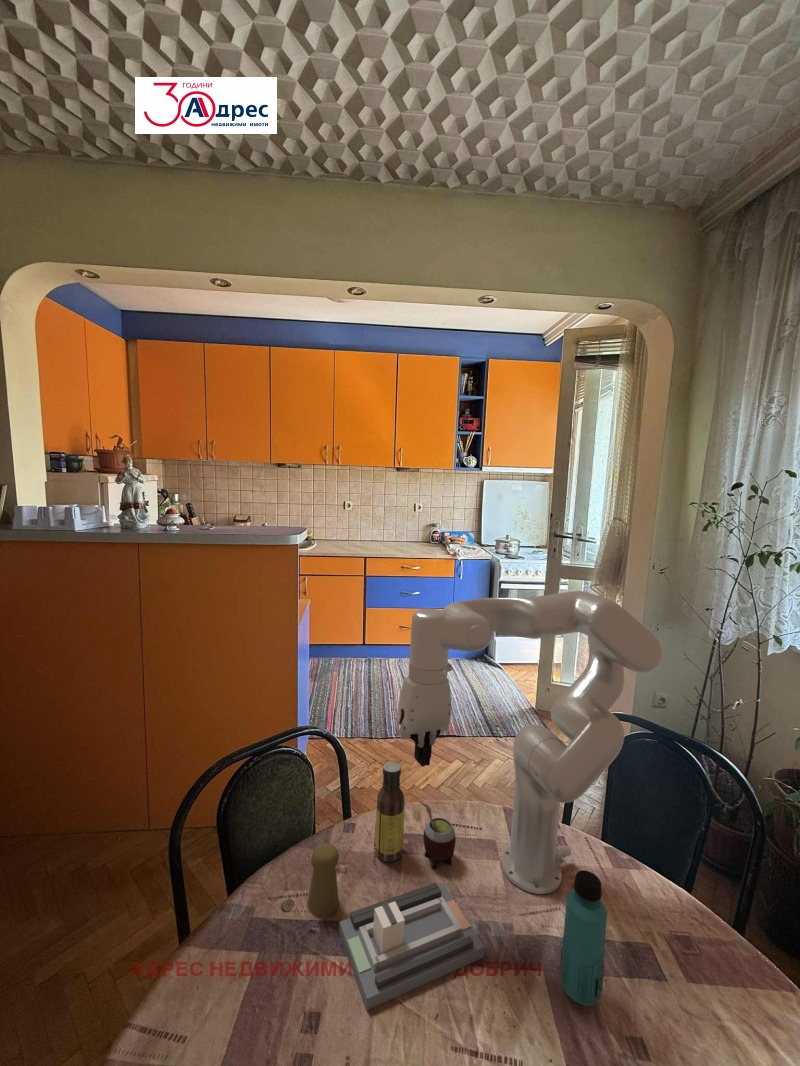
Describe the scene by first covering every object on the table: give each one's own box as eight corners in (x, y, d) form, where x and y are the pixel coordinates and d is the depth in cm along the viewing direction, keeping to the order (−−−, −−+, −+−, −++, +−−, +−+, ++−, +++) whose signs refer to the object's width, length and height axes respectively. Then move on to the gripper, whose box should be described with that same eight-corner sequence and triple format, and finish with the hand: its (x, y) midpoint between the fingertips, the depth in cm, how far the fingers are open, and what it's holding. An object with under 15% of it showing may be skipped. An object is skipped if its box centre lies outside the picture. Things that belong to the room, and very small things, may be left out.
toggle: (393, 927, 82) (395, 899, 82) (403, 947, 79) (404, 918, 78) (372, 935, 81) (374, 906, 80) (381, 956, 77) (383, 926, 77)
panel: (443, 893, 93) (444, 878, 93) (483, 957, 80) (485, 940, 80) (338, 931, 83) (339, 915, 83) (366, 1010, 71) (367, 991, 71)
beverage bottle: (597, 1025, 70) (608, 903, 69) (553, 999, 74) (563, 882, 73) (603, 988, 76) (614, 874, 75) (562, 965, 80) (571, 856, 78)
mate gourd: (457, 854, 104) (461, 790, 103) (447, 880, 96) (452, 812, 95) (426, 843, 106) (430, 781, 105) (414, 867, 99) (418, 801, 98)
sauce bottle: (408, 854, 103) (413, 768, 101) (387, 868, 98) (392, 779, 97) (388, 837, 107) (393, 756, 106) (368, 851, 103) (373, 765, 102)
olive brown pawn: (332, 919, 86) (335, 864, 85) (302, 912, 87) (304, 857, 86) (342, 893, 92) (345, 840, 91) (314, 886, 93) (316, 834, 92)
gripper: (450, 662, 97) (444, 746, 98) (385, 670, 90) (380, 759, 92) (470, 675, 90) (464, 765, 91) (401, 684, 84) (396, 781, 85)
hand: (422, 762), depth 91 cm, fingers closed
